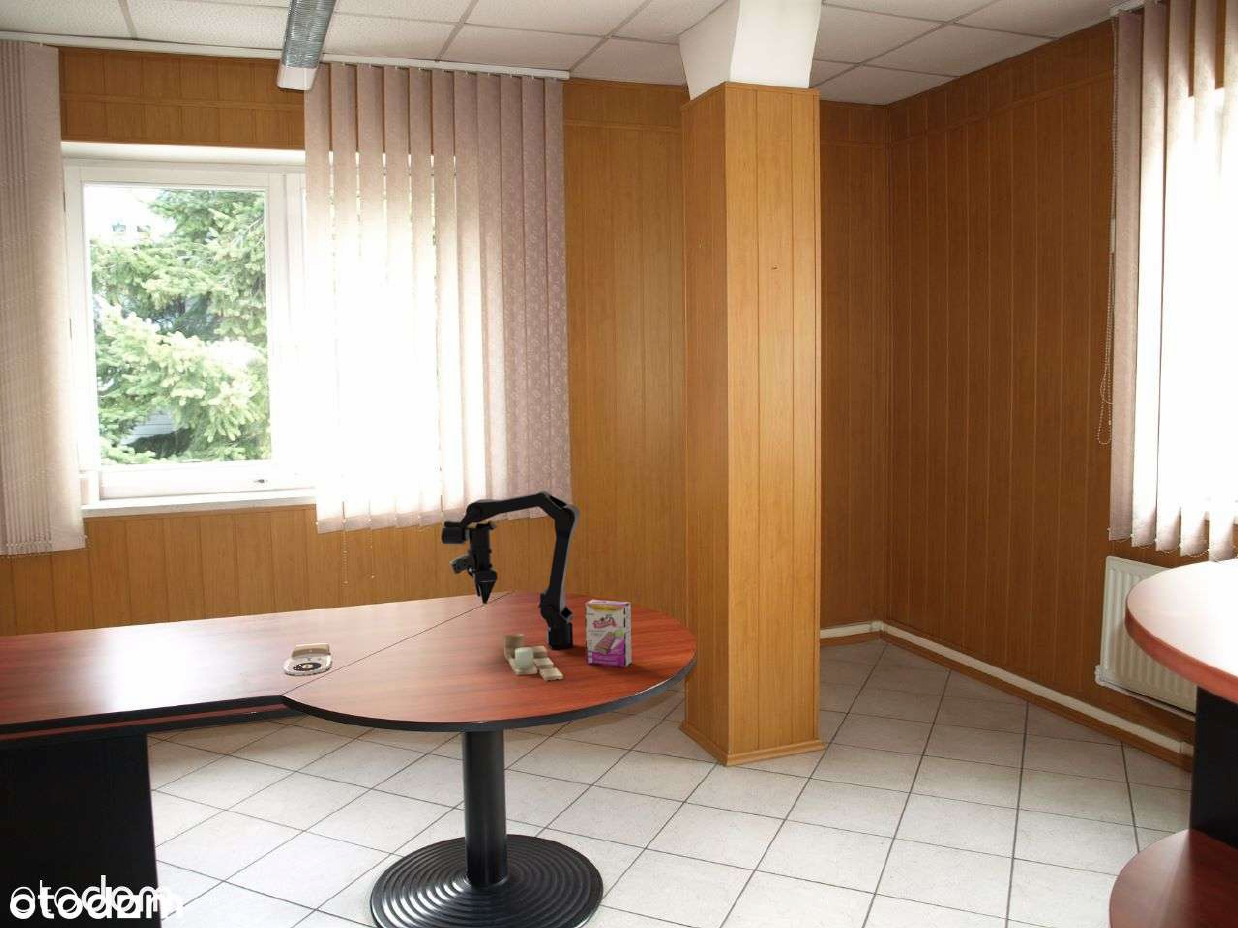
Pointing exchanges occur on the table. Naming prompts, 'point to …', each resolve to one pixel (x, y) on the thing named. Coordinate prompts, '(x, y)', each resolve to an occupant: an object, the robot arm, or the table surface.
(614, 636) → the candy bar box
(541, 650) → the broken strip
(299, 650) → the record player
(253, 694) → the table surface
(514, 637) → the beige long blocky piece
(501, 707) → the table surface
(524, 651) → the mint rounded cylinder
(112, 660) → the table surface
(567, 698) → the table surface
